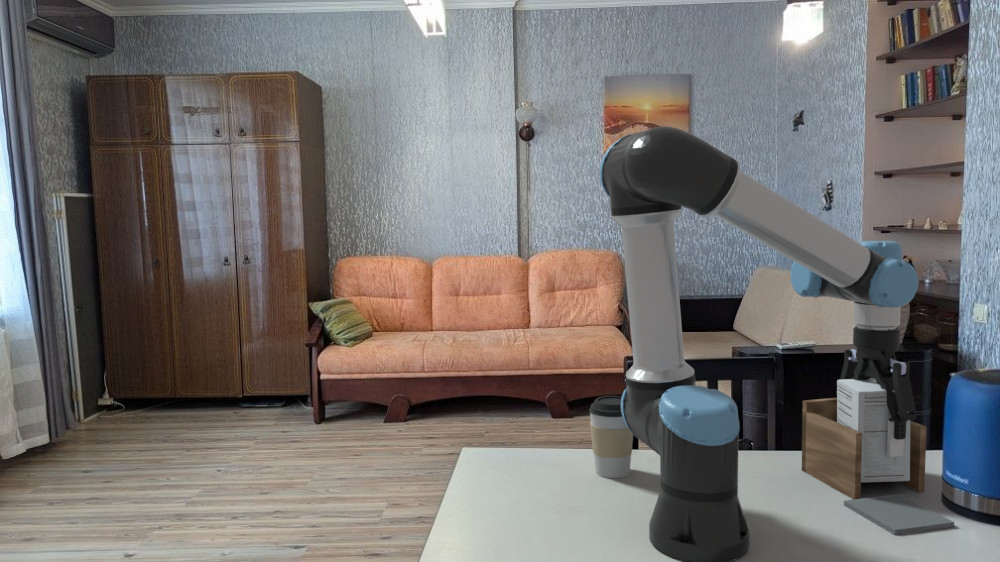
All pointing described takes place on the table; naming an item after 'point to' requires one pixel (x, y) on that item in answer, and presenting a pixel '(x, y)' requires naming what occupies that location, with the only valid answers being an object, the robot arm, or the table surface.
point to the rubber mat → (898, 514)
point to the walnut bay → (847, 449)
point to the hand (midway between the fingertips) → (873, 446)
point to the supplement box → (872, 429)
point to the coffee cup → (610, 438)
